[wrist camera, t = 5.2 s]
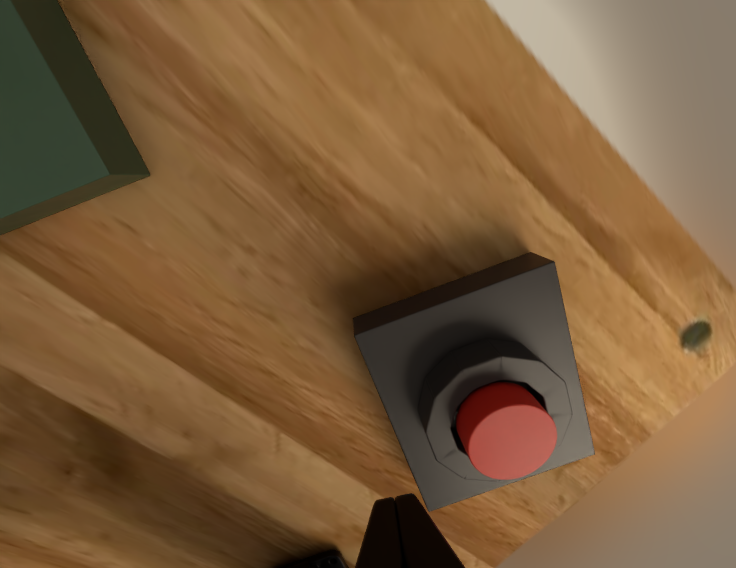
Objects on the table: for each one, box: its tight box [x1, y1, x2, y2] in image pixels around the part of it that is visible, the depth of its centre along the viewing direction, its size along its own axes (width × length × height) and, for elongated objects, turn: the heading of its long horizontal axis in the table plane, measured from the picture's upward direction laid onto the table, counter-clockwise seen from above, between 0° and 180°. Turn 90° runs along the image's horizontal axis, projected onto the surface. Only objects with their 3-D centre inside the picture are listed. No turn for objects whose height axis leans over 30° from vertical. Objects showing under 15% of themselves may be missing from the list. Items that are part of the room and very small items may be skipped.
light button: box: [456, 382, 557, 480], centre depth 16 cm, size 4×4×2 cm
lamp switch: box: [353, 252, 595, 512], centre depth 19 cm, size 12×10×4 cm
